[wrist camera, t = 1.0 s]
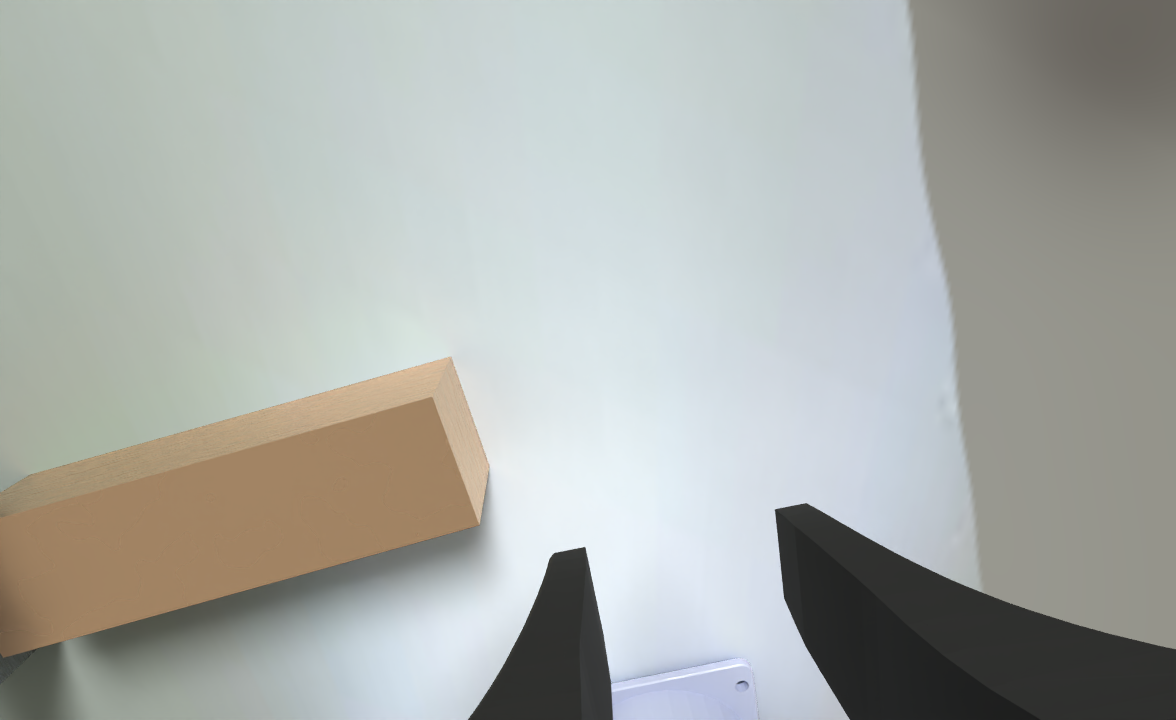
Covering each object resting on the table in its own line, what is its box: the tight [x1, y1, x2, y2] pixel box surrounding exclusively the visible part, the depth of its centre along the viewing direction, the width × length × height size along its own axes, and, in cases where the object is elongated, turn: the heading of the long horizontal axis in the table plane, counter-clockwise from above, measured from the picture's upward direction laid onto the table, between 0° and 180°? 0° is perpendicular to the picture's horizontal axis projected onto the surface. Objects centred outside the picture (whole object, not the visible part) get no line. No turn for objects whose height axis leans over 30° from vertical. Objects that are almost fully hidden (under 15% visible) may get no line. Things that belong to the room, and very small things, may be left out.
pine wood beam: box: [0, 357, 489, 658], centre depth 19 cm, size 4×14×4 cm, turn 105°
